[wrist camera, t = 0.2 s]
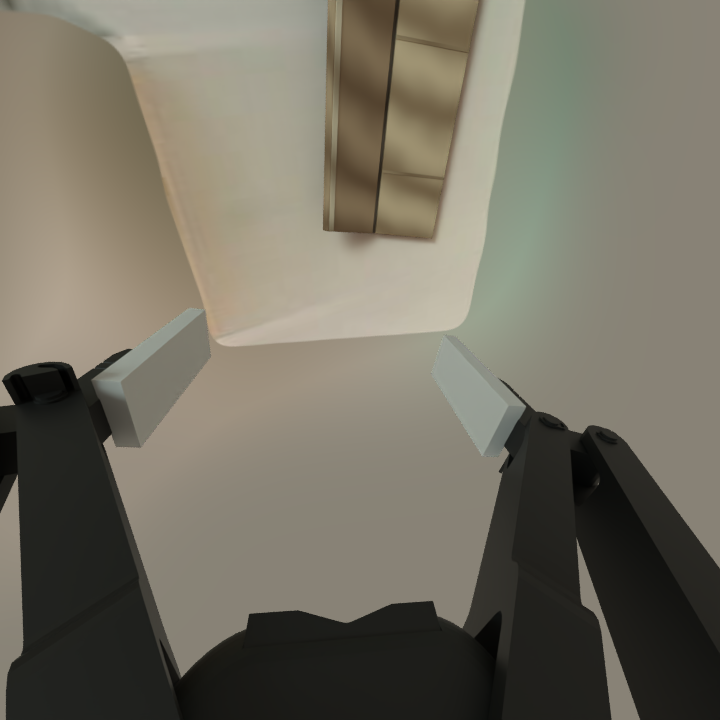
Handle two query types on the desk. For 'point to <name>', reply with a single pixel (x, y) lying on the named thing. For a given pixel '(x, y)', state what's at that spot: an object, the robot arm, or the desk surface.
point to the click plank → (355, 110)
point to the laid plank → (420, 111)
